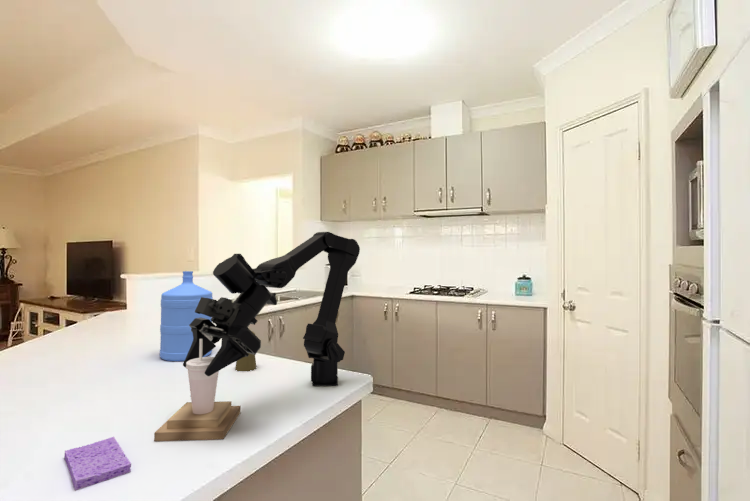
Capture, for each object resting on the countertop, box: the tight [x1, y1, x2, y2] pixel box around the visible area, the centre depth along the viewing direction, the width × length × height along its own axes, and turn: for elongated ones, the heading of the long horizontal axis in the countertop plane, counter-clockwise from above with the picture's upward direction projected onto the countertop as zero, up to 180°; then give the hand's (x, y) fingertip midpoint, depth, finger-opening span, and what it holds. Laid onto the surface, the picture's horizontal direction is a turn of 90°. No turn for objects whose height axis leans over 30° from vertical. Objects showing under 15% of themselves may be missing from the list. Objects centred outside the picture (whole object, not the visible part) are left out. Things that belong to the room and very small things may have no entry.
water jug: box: [159, 270, 214, 362], centre depth 129 cm, size 16×16×28 cm
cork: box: [234, 331, 257, 372], centre depth 115 cm, size 6×6×11 cm
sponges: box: [64, 436, 132, 491], centre depth 62 cm, size 7×13×2 cm, turn 44°
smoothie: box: [185, 339, 220, 414], centre depth 76 cm, size 6×6×14 cm
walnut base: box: [153, 400, 242, 442], centre depth 76 cm, size 12×12×3 cm
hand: (195, 370), depth 75 cm, fingers open, 8 cm apart
